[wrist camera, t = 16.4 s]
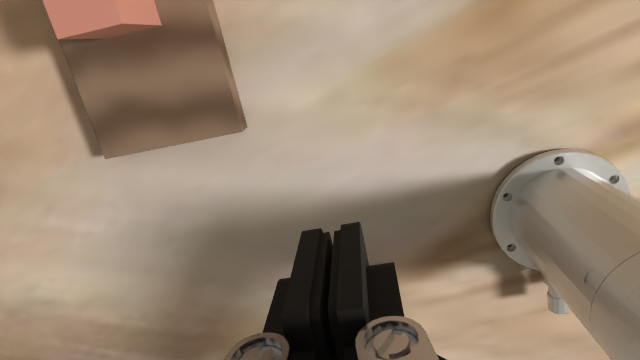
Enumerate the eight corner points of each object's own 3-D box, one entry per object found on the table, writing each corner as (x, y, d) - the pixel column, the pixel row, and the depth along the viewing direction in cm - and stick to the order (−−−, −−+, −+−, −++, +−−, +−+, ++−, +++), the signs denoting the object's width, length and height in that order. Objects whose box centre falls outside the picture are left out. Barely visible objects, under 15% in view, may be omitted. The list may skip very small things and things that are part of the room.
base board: (247, 127, 41) (242, 131, 39) (116, 153, 43) (105, 159, 41) (190, -81, 35) (181, -87, 33) (43, -40, 37) (26, -44, 35)
